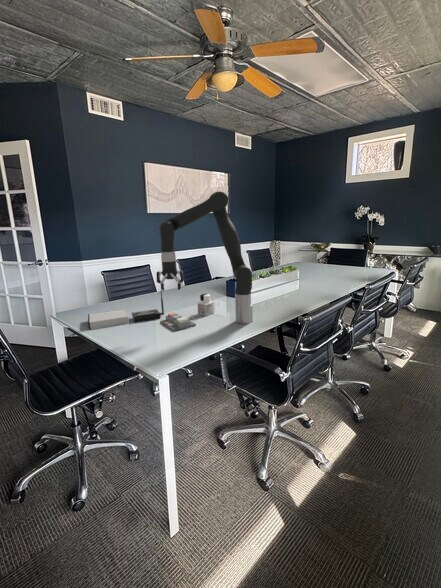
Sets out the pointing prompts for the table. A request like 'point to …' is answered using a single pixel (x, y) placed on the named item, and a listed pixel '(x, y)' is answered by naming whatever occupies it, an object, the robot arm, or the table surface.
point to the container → (205, 305)
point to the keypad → (176, 324)
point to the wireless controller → (147, 314)
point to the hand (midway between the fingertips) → (171, 290)
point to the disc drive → (107, 319)
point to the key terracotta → (172, 314)
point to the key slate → (176, 317)
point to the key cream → (181, 320)
